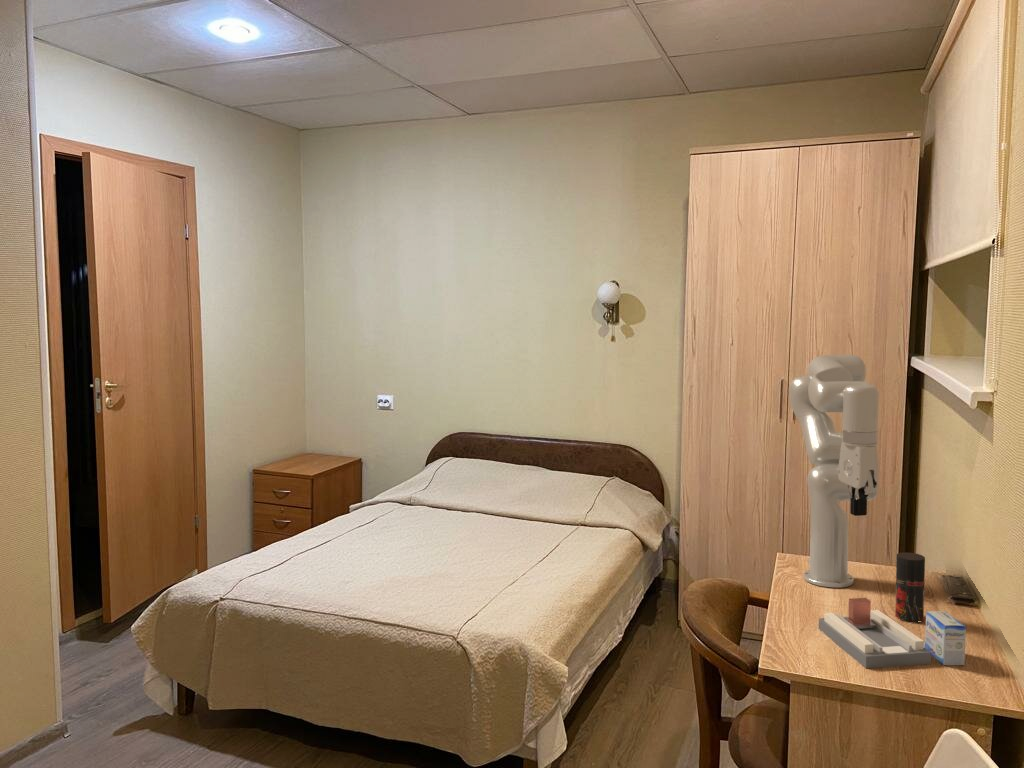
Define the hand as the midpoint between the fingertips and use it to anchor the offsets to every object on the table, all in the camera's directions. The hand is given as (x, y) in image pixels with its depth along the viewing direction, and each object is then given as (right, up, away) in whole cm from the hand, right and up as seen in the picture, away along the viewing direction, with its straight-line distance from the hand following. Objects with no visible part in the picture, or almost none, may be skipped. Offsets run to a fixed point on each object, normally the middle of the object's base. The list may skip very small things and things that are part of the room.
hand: (858, 514), depth 181 cm
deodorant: (+13, -25, +1) cm, 28 cm away
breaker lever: (-4, -23, -8) cm, 25 cm away
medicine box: (+9, -27, -19) cm, 35 cm away
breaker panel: (-3, -27, -13) cm, 30 cm away
